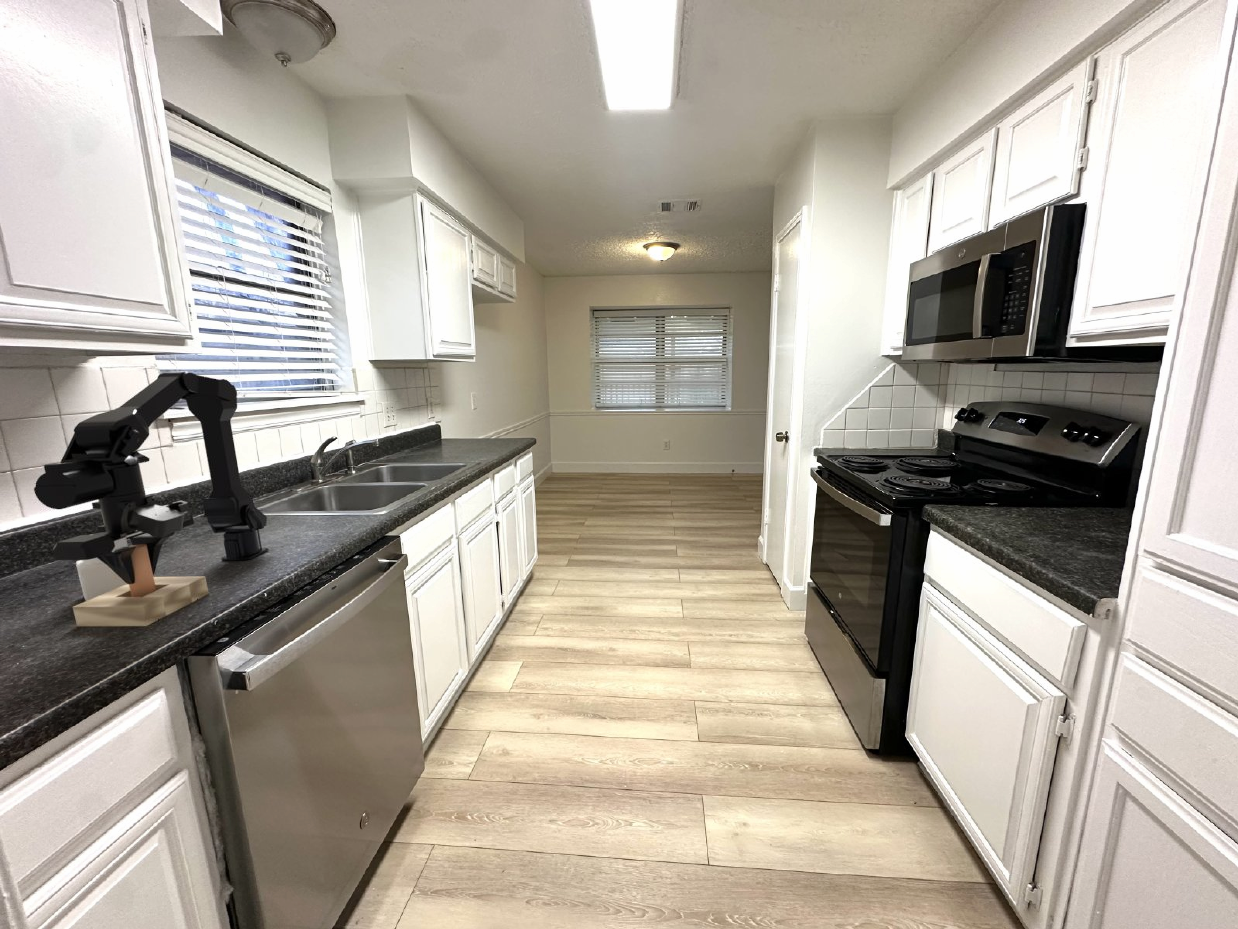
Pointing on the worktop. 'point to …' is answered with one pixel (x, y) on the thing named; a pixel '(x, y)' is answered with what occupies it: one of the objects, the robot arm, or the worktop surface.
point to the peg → (142, 572)
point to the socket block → (140, 603)
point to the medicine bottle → (97, 577)
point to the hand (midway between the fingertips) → (140, 579)
